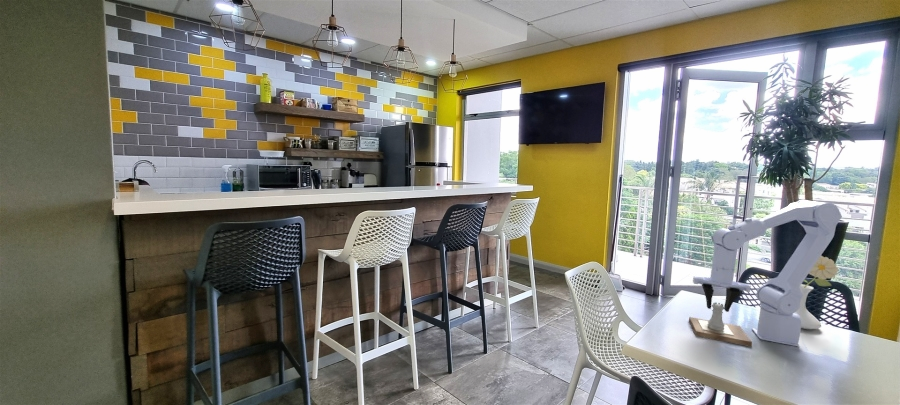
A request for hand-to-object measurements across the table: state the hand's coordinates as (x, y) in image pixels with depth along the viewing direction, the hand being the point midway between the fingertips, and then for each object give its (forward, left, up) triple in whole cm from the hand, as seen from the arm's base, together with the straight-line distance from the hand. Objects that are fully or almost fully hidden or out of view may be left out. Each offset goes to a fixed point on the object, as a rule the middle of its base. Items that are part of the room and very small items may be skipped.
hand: (717, 309), depth 118 cm
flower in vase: (-29, -22, -8) cm, 37 cm away
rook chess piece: (0, +1, -6) cm, 6 cm away
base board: (-1, 0, -8) cm, 8 cm away
